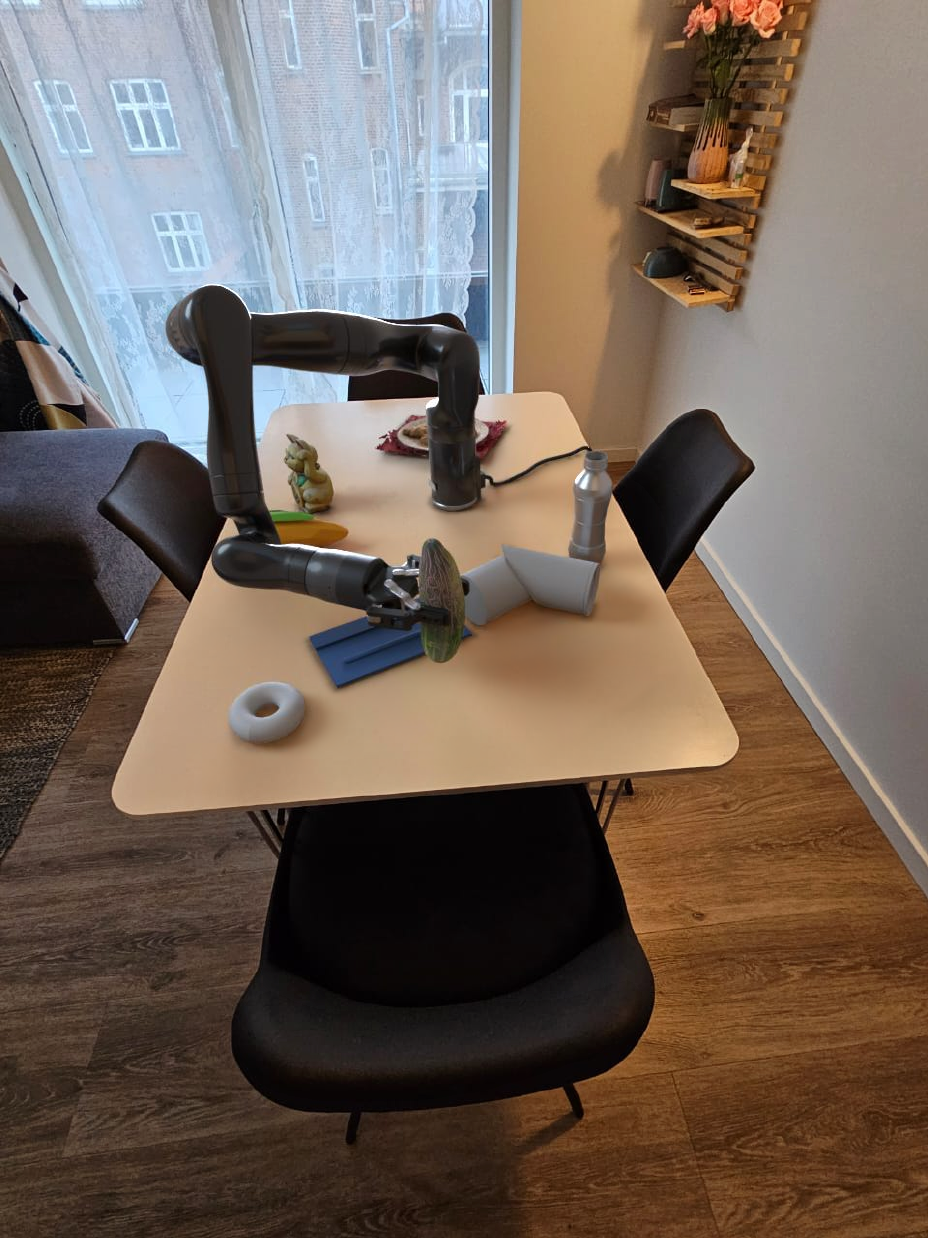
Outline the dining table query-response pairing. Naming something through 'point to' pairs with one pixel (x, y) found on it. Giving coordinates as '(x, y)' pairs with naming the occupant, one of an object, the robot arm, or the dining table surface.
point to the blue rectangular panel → (366, 649)
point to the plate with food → (416, 437)
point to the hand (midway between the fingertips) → (459, 602)
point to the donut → (270, 726)
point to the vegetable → (441, 600)
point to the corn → (306, 529)
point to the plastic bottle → (591, 509)
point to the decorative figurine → (307, 476)
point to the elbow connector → (530, 584)
